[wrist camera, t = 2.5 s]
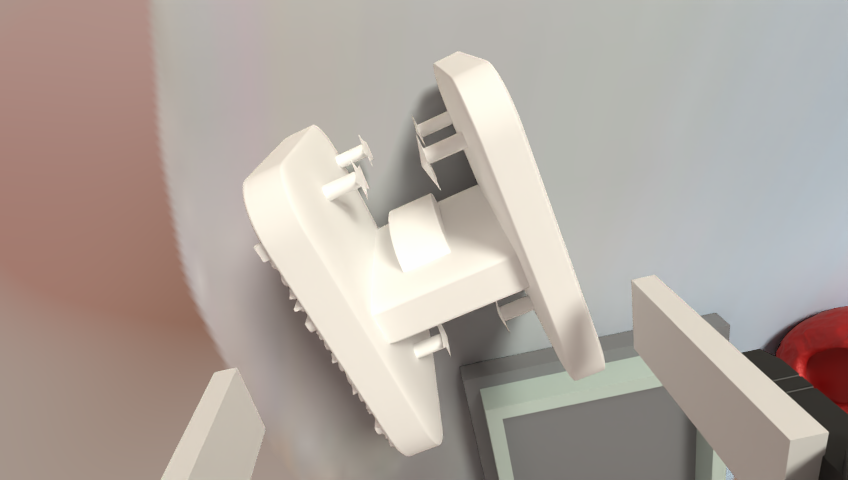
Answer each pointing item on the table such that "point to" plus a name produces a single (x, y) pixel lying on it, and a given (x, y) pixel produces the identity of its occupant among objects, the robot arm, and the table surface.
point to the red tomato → (821, 353)
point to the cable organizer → (420, 252)
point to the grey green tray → (584, 419)
